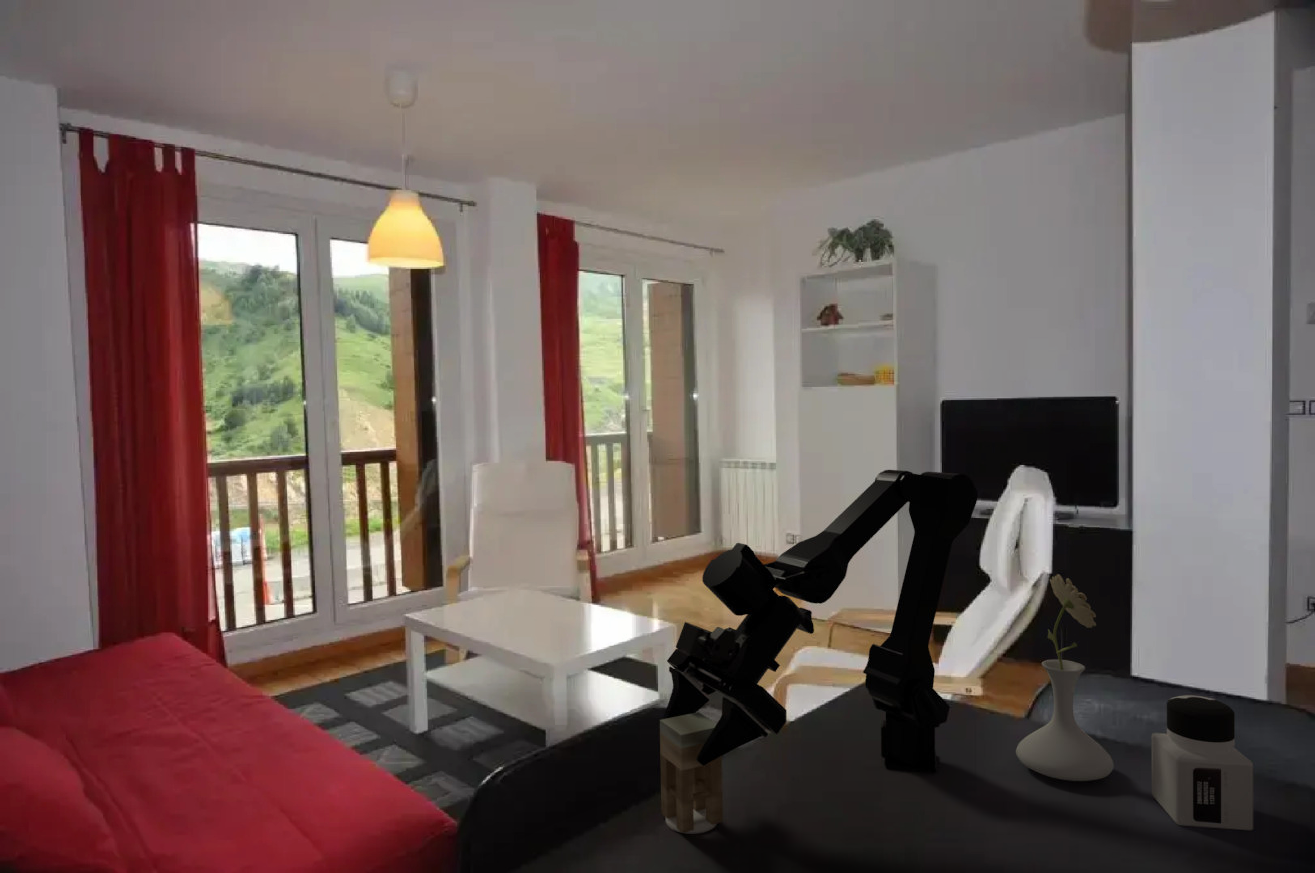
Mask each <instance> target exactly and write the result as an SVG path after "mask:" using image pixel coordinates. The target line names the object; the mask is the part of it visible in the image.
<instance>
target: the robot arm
mask: <svg viewBox="0 0 1315 873" xmlns="http://www.w3.org/2000/svg"><path fill="white" fill-rule="evenodd" d="M977 502H978V489H977V488H976V487H975V484H974V482H973V480H972V479H971V478H970V477H969V476H968V475H966V474H965V473H964V474H963V473H953V472H941V471H940V472H938V471H924V472H922V473H920V474H919V473H918V474H917V473H913V472H912V471H909V470H900V469H885V470H883V471H881V472H879V473H878V474H877V476H876V477H875V479H874V481H873V482H872V483H871V484H869V486H868V487H867V488H866V489H865V490H863V491H862V493H860V495H859V496H857V498H856V499H855V500H854V501H853V502H852V503H851V504H849V506H848V507H846V508H845V509H844V510H843V511H842V512H841V513H840V514H839V515H838V516H837V517H836V518H835V519H834V520H833V521H832V522H831V523H830V524H829V525H828V526H827V527H826V528H824V530H823V531H820V532H819V533H818V534H816V535H814V536H812V537H809V538H807V539H804V540H802V541H799V542H797V543H796V544H794V545H793V546H791V547H789V548H788V549H787V550H785V551H783V553H781V554H780V555H779V556H778V557H777V558H776V560H774V561H771V562H767V563H763V562H762V561H761V559H759V558H758V557H757V556H756V554H755V552H754V550H752V548H751V547H750V546H749V545H748V544H745V543H740V542H737V543H736V544H735V545H734V546H733V547H732V549H729V550H728V549H727V550H726V551H724V552H722V553H721V554H719V555H718V556H717V557H715V558H714V559H711V560H710V562H709V563H707V565H706V567H705V569H704V570H703V573H702V580H701V581H702V583H703V585H704V586H705V587H706V588H707V589H708V590H709V591H710V592H711V593H712V594H714V596H715V597H716V598H718V600H719V601H720V602H721V603H722V604H723V605H724V606H725V607H726V608H727V609H728V610H729V611H730V612H731V613H732V614H734V616H738V617H742V616H745V617H744V618H743V620H742V621H741V622H740V623H739V625H738V626H737V627H736V629H734V628H733V627H730V626H729V627H727V628H725V629H724V628H722V627H719V626H717V627H715V628H714V629H713V631H710V630H708V629H706V628H702V627H700V626H699V625H698V626H697V625H694V624H692V623H690V622H686V621H685V622H684V623H683V625H682V626H683V627H682V629H681V632H680V634H679V637H678V639H677V642H676V645H675V649H674V650H673V652H672V653H671V654H670V656H669V657H668V659H666V662H667V664H669V665H670V666H669V667H668V672H669V673H670V674H671V680H672V688H671V690H672V691H671V693H670V697H669V699H668V700H669V701H668V703H667V706H666V709H665V712H664V714H663V717H662V719H667V718H672V717H677V716H682V715H687V714H692V713H697V712H699V711H700V709H702V708H703V707H704V706H705V705H706V704H707V703H708V702H709V701H710V698H709V697H707V696H709V695H711V694H713V693H715V692H717V693H719V694H721V695H723V696H722V698H721V700H722V703H721V705H722V706H721V716H720V718H719V720H718V722H716V723H717V724H716V726H715V728H714V729H713V731H712V732H711V734H710V736H709V737H708V739H707V741H706V742H705V744H704V745H703V747H702V749H701V751H700V753H699V755H698V757H697V761H698V762H699V763H700V764H701V765H706V764H708V763H710V762H711V761H713V760H715V759H717V758H719V757H721V756H722V757H723V756H724V755H726V754H728V753H730V752H732V751H733V750H735V749H737V748H739V747H741V746H743V745H746V744H748V743H750V742H752V741H754V740H756V739H759V738H761V737H764V738H767V737H768V736H769V733H768V732H770V733H772V734H773V735H775V736H778V735H779V734H780V732H781V730H782V729H783V728H784V726H785V725H786V723H787V719H788V717H787V709H786V708H785V707H784V706H783V705H782V704H781V703H780V702H779V701H778V700H777V699H776V698H774V697H773V695H772V694H770V692H768V690H767V689H765V688H764V686H761V685H759V683H760V681H761V680H762V679H763V677H764V676H765V674H766V673H767V671H768V670H770V671H772V672H774V673H776V672H777V670H778V668H779V667H780V666H781V665H780V664H779V663H778V661H776V658H778V656H779V654H780V653H781V652H782V651H783V649H784V647H785V646H786V645H787V643H788V642H789V640H790V639H791V638H792V636H793V635H794V633H795V632H796V631H797V630H799V631H802V632H805V633H807V634H809V635H812V634H814V633H815V627H814V622H813V618H812V616H813V612H812V610H810V609H806V608H804V607H799V606H798V605H797V604H796V603H795V602H794V601H793V600H792V599H791V598H794V599H797V600H800V601H804V602H806V603H811V604H816V605H817V604H818V605H819V604H820V605H821V604H824V603H826V602H827V601H828V600H830V599H831V598H832V597H833V596H834V593H836V592H837V590H838V588H839V587H840V586H841V584H842V583H843V581H844V580H845V579H846V577H847V572H848V568H849V563H850V562H851V560H852V559H853V557H854V556H855V555H856V554H857V553H858V552H859V551H860V550H861V549H862V548H863V547H864V546H865V545H866V544H867V543H869V541H870V540H871V539H872V538H873V537H874V536H875V535H877V533H878V532H880V530H882V528H883V527H884V526H885V525H887V523H888V522H889V521H890V520H891V519H893V517H894V516H895V515H896V514H898V512H899V511H900V510H901V509H902V508H904V506H905V505H906V504H907V503H909V504H908V505H909V506H908V513H909V517H910V520H911V523H912V527H913V530H914V532H913V537H912V543H911V547H910V551H909V554H908V555H909V556H908V560H907V565H906V567H905V573H904V576H903V581H902V585H901V589H900V592H899V593H900V594H899V596H898V597H899V598H898V602H897V606H896V610H895V614H894V619H893V623H892V628H891V631H890V634H889V636H888V637H887V638H886V639H885V641H883V642H882V643H881V645H878V644H875V643H873V644H872V645H871V646H870V648H869V651H868V652H869V653H868V658H867V663H866V666H865V667H864V669H863V671H862V673H863V674H865V682H864V685H865V688H866V689H867V691H868V694H869V695H870V697H871V698H872V701H873V705H874V708H875V709H876V710H878V711H879V710H880V711H883V712H884V713H885V720H882V721H881V727H880V740H881V742H880V750H881V751H880V753H881V754H880V755H881V757H882V758H884V767H886V768H887V769H888V768H889V769H897V770H905V771H907V770H908V771H917V772H926V773H937V771H938V770H937V752H936V728H940V725H941V724H945V723H947V720H948V717H949V713H950V708H951V707H950V705H949V704H948V703H947V701H945V700H944V699H943V698H942V696H941V695H940V694H939V693H938V692H937V691H936V690H935V689H934V683H935V675H936V674H935V673H936V672H935V666H934V662H933V659H932V656H931V655H932V654H931V652H930V648H929V647H930V646H929V645H930V639H931V635H932V631H933V626H934V622H935V619H936V614H937V609H938V605H939V601H940V596H941V592H942V587H943V583H944V579H945V575H946V570H947V565H948V561H949V558H950V552H951V549H952V545H953V542H954V540H955V539H956V538H957V537H958V536H959V535H960V534H962V533H961V532H963V531H964V530H965V529H966V527H967V526H968V525H969V523H970V521H971V518H972V516H973V512H974V511H975V508H976V505H977ZM774 588H775V589H777V590H778V592H780V593H781V594H783V595H779V594H778V593H777V592H776V591H775V590H774ZM790 597H791V598H790ZM767 731H768V732H767ZM658 733H659V734H660V727H659V728H658Z"/></svg>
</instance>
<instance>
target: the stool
mask: <svg viewBox="0 0 1315 873" xmlns="http://www.w3.org/2000/svg"><path fill="white" fill-rule="evenodd" d="M717 723H718V722H715V721H714V720H712V719H710V718H709V717H707V716H706V715H704V714H703V713H700V712H699V711H697V712H696V713H692V714H687V715H682V716H677V717H672V718H667V719H663V718H662V719H659V728H660V733H659V743H660V744H659V746H660V748H659V751H660V752H659V755H660V756H659V758H660V760H659V761H660V803H661V804H660V805H661V806H660V808H661V815H663V816H664V818H665V819H666V818H670V817H674V816H677V828H678V829H679V830H680V831H681V832H682V833H681V834H685V833H684V832H688V831H691V830H694V816H693V809H694V810H695V811H697V810H701V809H704V808H706V820H707V821H708V822H710V823H711V824H712V825H713V824H717V825H718V824H720V823H723V822H724V820H723V819H724V816H723V813H724V812H723V810H724V809H723V759H722V758H723V755H722V756H721V757H719V758H717V759H715V760H713V761H711V762H710V763H708V764H706V765H701V764H700V763H699V762H698V761H697V757H698V755H699V753H700V751H701V749H702V747H703V745H704V744H705V742H706V741H707V739H708V737H709V736H710V734H711V732H712V731H713V729H714V728H715V726H716V724H717Z"/></svg>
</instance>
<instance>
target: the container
mask: <svg viewBox="0 0 1315 873" xmlns="http://www.w3.org/2000/svg"><path fill="white" fill-rule="evenodd" d="M1235 713H1236V712H1235V711H1234V710H1233V709H1232V707H1230V705H1228V704H1225V703H1223V702H1222V701H1220V700H1217V699H1215V698H1212V697H1211V698H1210V697H1207V696H1201V695H1190V694H1186V695H1179V696H1174V697H1171V698H1170V699H1169V700H1168V701H1166V733H1160V732H1153V733H1152V734H1151V795H1152V796H1153V797H1154V799H1155V800H1156V801H1157V802H1158V803H1159V805H1160V806H1161V807H1162V808H1163V809H1164V810H1165V812H1166V813H1167V814H1168V815H1169V817H1170V818H1171V819H1172V821H1174V823H1175V824H1176V825H1178V826H1183V827H1184V826H1185V827H1195V828H1196V827H1198V828H1211V829H1223V830H1224V829H1225V830H1236V831H1237V830H1238V831H1239V830H1240V831H1252V830H1253V829H1254V764H1253V762H1252V761H1251V760H1250V759H1249V758H1247V757H1246V756H1245V755H1243V753H1241V752H1240V751H1239V750H1238V749H1236V748H1235V745H1236V743H1235V741H1236V740H1235V739H1236V738H1235V736H1236V735H1235V734H1236V733H1235V726H1236V725H1235V724H1236V722H1235V720H1236V719H1235V717H1236V716H1235V715H1236V714H1235Z"/></svg>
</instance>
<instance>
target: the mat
mask: <svg viewBox="0 0 1315 873" xmlns="http://www.w3.org/2000/svg"><path fill="white" fill-rule="evenodd" d="M693 816H694V830H691V831H688V832H684V833H682V832H681V831H680V830H679V829H678V828H677V816H674V817H670V818H666V817H665V825H666V826H667V827H668V828H669V829H671V830H672V831H674V832H677V833H681V834H687V835H697V834H705V833H707V832H709V831H711V830H713V829H714V828H716V827H717V825H718V823H717V824H713V825H712V824H711V823H710V822H708V821H707V820H706V808H704V809H701V810H697V811H695V810H694V809H693Z"/></svg>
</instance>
